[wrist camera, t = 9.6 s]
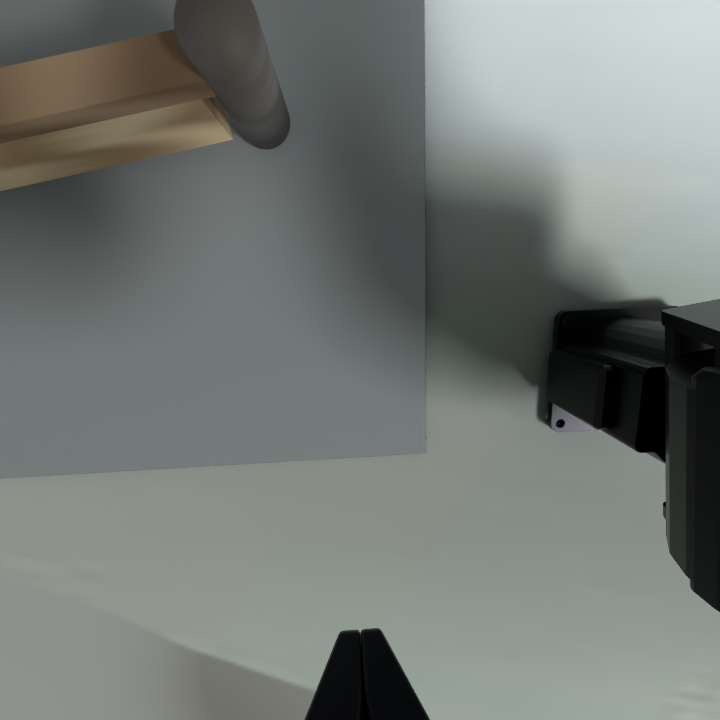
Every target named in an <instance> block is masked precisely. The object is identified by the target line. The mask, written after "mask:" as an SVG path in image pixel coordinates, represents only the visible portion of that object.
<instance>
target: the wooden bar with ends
mask: <svg viewBox="0 0 720 720" xmlns="http://www.w3.org/2000/svg"><path fill="white" fill-rule="evenodd" d="M226 112H227V114H228V115H229V117H230V118H231V119H232V121H233V122H234V124H235V125H236V127H237V128H238V129H239V131H240V132H241V134H242V135H243V137H244V138H245V139H246V140H247V141H248V142H249V143H250V144H251V145H253V146H254V147H256V148H259V149H264V150H268V149H273V148H276V147H278V146H279V145H281V144H282V143H283V142H284V141H285V139H286V138H287V136H288V133H289V130H290V116H289V112H288V109H287V106H286V103H285V100H284V97H283V94H282V90H281V87H280V84H279V81H278V78H277V75H276V72H275V69H274V66H273V62H272V59H271V56H270V53H269V50H268V47H267V44H266V41H265V37H264V34H263V31H262V28H261V25H260V22H259V19H258V16H257V12H256V9H255V7H254V5H253V3H252V1H251V0H177V1H176V5H175V9H174V29H173V30H169V31H164V32H159V33H155V34H150V35H146V36H141V37H137V38H132V39H128V40H123V41H119V42H114V43H110V44H105V45H101V46H96V47H92V48H87V49H83V50H78V51H74V52H69V53H65V54H60V55H56V56H51V57H47V58H42V59H37V60H33V61H28V62H24V63H19V64H15V65H10V66H6V67H1V68H0V191H4V190H8V189H13V188H17V187H22V186H26V185H31V184H35V183H40V182H44V181H49V180H53V179H58V178H62V177H67V176H71V175H76V174H80V173H85V172H89V171H94V170H98V169H103V168H107V167H112V166H116V165H121V164H126V163H130V162H135V161H139V160H144V159H148V158H153V157H157V156H162V155H166V154H171V153H175V152H180V151H184V150H189V149H193V148H198V147H202V146H207V145H211V144H216V143H220V142H225V141H229V140H233V137H232V133H231V129H230V125H229V122H228V118H227V114H226Z"/></svg>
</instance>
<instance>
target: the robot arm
mask: <svg viewBox="0 0 720 720" xmlns="http://www.w3.org/2000/svg"><path fill="white" fill-rule="evenodd" d="M566 316H567V317H568V319H569V321H568V323H567V324H565V325H564V323H563V320H564V318H565V317H566ZM547 399H548V400H549V405H548V419H547V422H548V426H549V427H550V428H551V429H553V430H554V431H556V432H575V431H592V430H602V431H603V432H605V433H607V434H608V435H610V436H612V437H614V438H615V439H617V440H619V441H620V442H622V443H624V444H625V445H627V446H629V447H630V448H632V449H634V450H635V451H637V452H640V453H648V454H649V455H651V456H653V457H654V458H656V459H658V460H660V461H661V462H663V463H665V464H666V502H664V503H663V516H664V518H665V519H666V537H667V542H668V547H669V552H670V554H671V555H672V557H673V558H674V560H675V561H676V562H677V564H678V565H679V567H680V568H681V569H682V571H683V572H684V573H685V575H686V576H687V577H688V578H689V579H690V587H691V589H692V590H693V591H694V592H695V593H696V594H697V595H699V596H700V597H701V598H702V599H704V600H705V601H706V602H707V603H708V604H710V605H711V606H712V607H713V608H715V609H716V610H717V611H719V612H720V299H717V300H712V301H707V302H701V303H696V304H691V305H686V306H680V307H677V306H648V307H626V308H604V309H582V310H564V311H560V312H559V313H558V314H557V315H556V316H555V320H554V332H553V346H552V351H551V353H550V354H549V367H548V382H547ZM559 419H561V422H560V424H559V425H556V422H557V421H558V420H559ZM360 636H361V639H360ZM305 720H430V719H429V717H428V715H427V713H426V712H425V710H424V708H423V706H422V704H421V702H420V701H419V699H418V697H417V695H416V693H415V691H414V689H413V688H412V686H411V684H410V682H409V680H408V678H407V677H406V675H405V673H404V671H403V669H402V667H401V666H400V664H399V662H398V660H397V658H396V656H395V654H394V653H393V651H392V649H391V647H390V645H389V643H388V642H387V640H386V638H385V636H384V634H383V632H382V631H381V630H380V629H379V628H373V629H363V630H362V631H361V634H360V632H359V631H358V630H347V631H341V632H340V633H339V635H338V637H337V640H336V642H335V645H334V647H333V650H332V652H331V655H330V657H329V660H328V662H327V665H326V667H325V670H324V672H323V675H322V677H321V680H320V682H319V685H318V687H317V690H316V692H315V695H314V697H313V700H312V702H311V705H310V708H309V710H308V712H307V715H306V717H305Z"/></svg>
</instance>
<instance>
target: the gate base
mask: <svg viewBox="0 0 720 720" xmlns="http://www.w3.org/2000/svg"><path fill="white" fill-rule="evenodd" d="M176 1H177V0H0V68H1V67H6V66H10V65H15V64H19V63H24V62H28V61H33V60H37V59H42V58H47V57H51V56H56V55H60V54H65V53H69V52H74V51H78V50H83V49H87V48H92V47H96V46H101V45H105V44H110V43H114V42H119V41H123V40H128V39H132V38H137V37H141V36H146V35H150V34H155V33H159V32H164V31H169V30H173V29H174V9H175V5H176ZM251 1H252V3H253V5H254V7H255V9H256V12H257V16H258V19H259V22H260V25H261V28H262V31H263V34H264V37H265V41H266V44H267V47H268V50H269V53H270V56H271V59H272V62H273V66H274V69H275V72H276V75H277V78H278V81H279V84H280V87H281V90H282V94H283V97H284V100H285V103H286V106H287V109H288V112H289V116H290V130H289V133H288V136H287V138H286V139H285V141H284V142H283V143H282V144H281V145H279V146H278V147H276V148H273V149H268V150H264V149H259V148H256V147H254V146H253V145H251V144H250V143H249V142H248V141H247V140H246V139H245V138H244V137H243V135H242V134H241V132H240V131H239V129H238V128H237V127H236V125H235V124H234V122H233V121H232V119H231V118H230V117H229V115H228V114H227V112H226V114H227V118H228V122H229V125H230V129H231V133H232V137H233V140H229V141H225V142H220V143H216V144H211V145H207V146H202V147H198V148H193V149H189V150H184V151H180V152H175V153H171V154H166V155H162V156H157V157H153V158H148V159H144V160H139V161H135V162H130V163H126V164H121V165H116V166H112V167H107V168H103V169H98V170H94V171H89V172H85V173H80V174H76V175H71V176H67V177H62V178H58V179H53V180H49V181H44V182H40V183H35V184H31V185H26V186H22V187H17V188H13V189H8V190H4V191H0V479H3V478H20V477H36V476H53V475H70V474H87V473H103V472H120V471H137V470H154V469H171V468H187V467H204V466H221V465H238V464H254V463H271V462H288V461H305V460H321V459H338V458H355V457H372V456H389V455H405V454H422V453H426V315H425V43H424V0H251Z"/></svg>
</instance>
